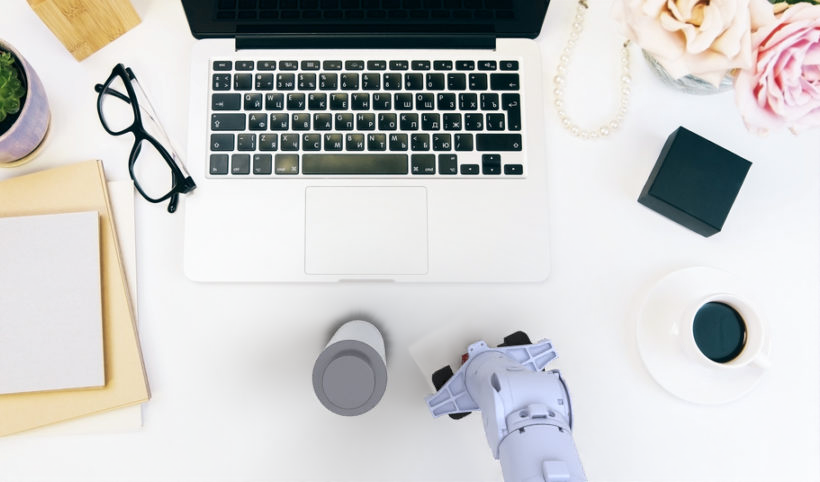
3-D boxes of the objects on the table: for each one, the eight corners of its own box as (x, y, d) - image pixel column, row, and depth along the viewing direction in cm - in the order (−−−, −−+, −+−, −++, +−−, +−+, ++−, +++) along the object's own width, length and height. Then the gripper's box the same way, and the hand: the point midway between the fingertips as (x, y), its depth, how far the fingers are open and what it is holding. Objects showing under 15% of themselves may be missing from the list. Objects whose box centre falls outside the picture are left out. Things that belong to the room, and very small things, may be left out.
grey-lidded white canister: (393, 359, 72) (401, 401, 48) (345, 382, 72) (329, 436, 48) (370, 311, 72) (366, 329, 48) (323, 334, 72) (296, 363, 48)
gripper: (549, 316, 57) (516, 308, 71) (415, 381, 57) (408, 361, 70) (583, 383, 57) (543, 362, 70) (448, 450, 56) (434, 416, 70)
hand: (477, 365), depth 70 cm, fingers open, 6 cm apart
